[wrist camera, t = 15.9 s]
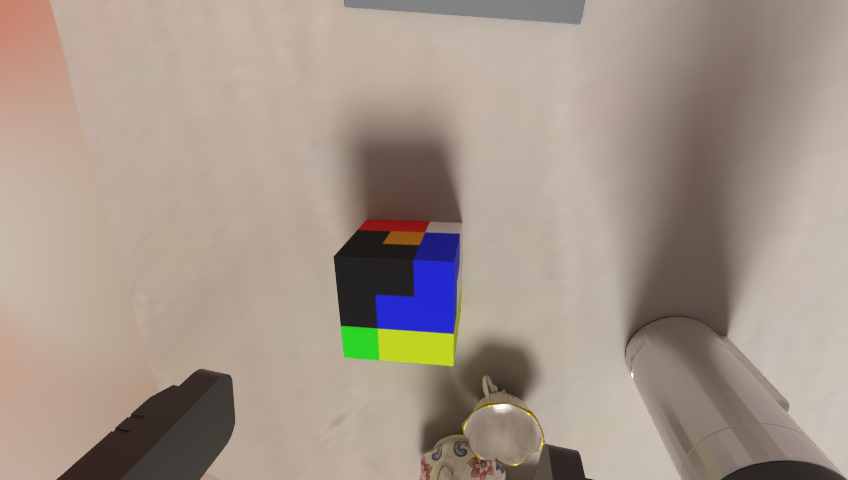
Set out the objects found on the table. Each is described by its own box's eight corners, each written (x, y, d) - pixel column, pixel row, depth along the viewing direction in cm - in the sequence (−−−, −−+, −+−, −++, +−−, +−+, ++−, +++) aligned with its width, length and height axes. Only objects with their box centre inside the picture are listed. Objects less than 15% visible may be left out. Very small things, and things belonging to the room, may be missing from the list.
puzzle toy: (462, 222, 42) (454, 261, 33) (460, 308, 45) (453, 366, 36) (367, 219, 43) (333, 256, 34) (373, 303, 47) (344, 357, 38)
